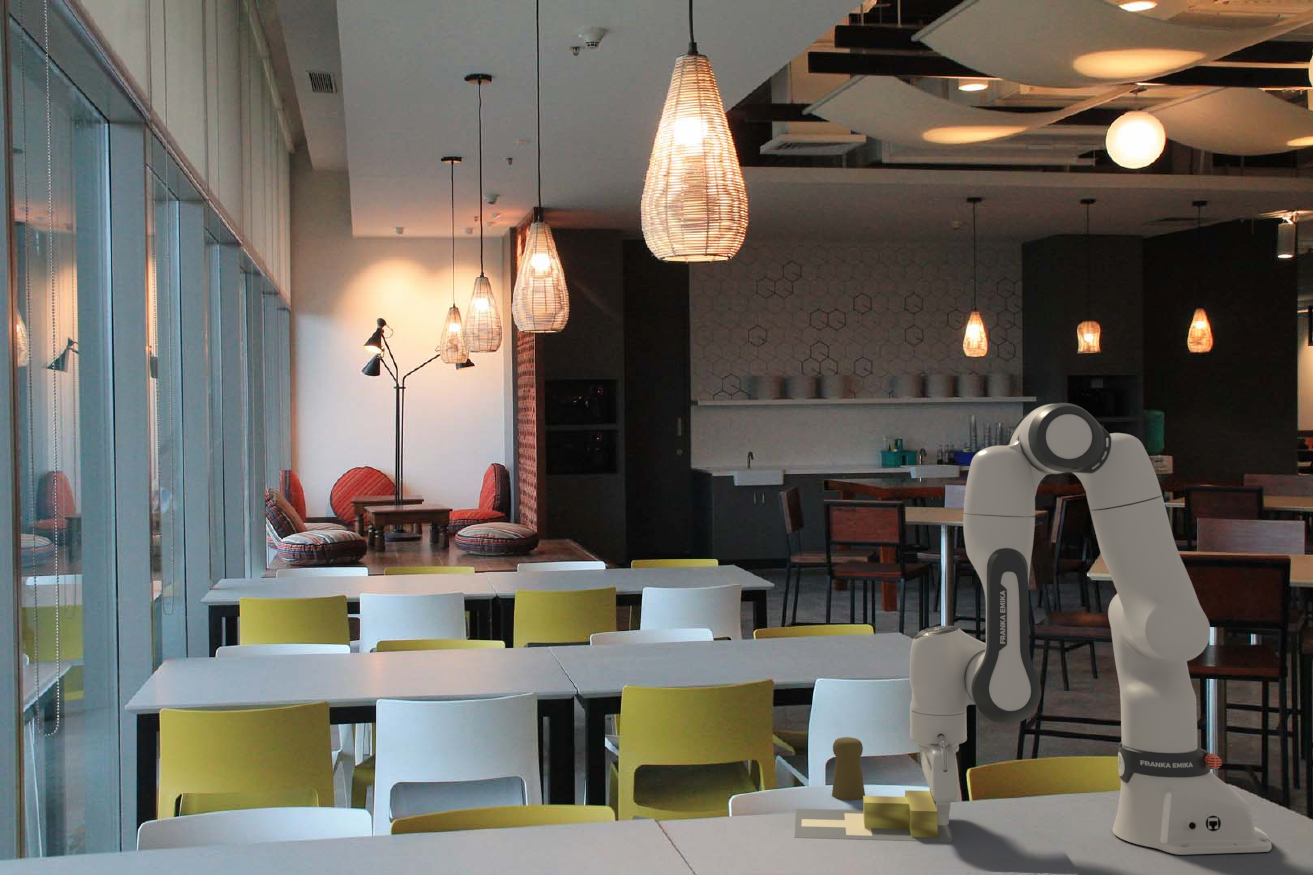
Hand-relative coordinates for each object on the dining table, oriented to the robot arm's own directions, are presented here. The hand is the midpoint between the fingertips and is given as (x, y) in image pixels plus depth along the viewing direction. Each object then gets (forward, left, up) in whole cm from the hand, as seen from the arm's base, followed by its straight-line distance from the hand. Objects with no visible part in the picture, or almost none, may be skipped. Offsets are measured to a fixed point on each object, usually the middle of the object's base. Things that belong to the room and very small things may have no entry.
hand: (939, 815), depth 192 cm
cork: (+14, -17, -3) cm, 22 cm away
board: (+11, 0, -3) cm, 11 cm away
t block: (+6, 0, -2) cm, 7 cm away
